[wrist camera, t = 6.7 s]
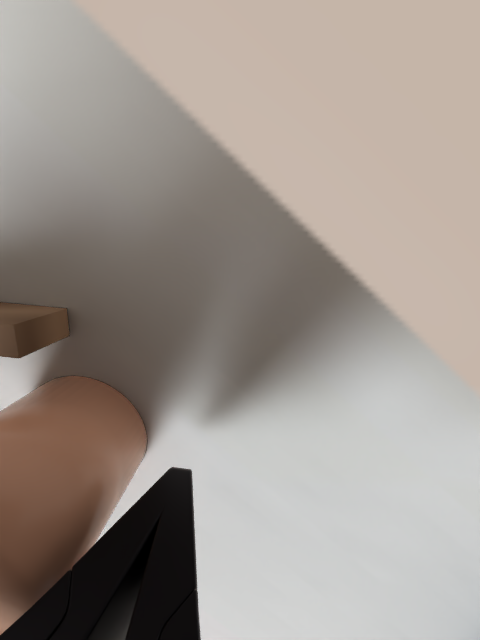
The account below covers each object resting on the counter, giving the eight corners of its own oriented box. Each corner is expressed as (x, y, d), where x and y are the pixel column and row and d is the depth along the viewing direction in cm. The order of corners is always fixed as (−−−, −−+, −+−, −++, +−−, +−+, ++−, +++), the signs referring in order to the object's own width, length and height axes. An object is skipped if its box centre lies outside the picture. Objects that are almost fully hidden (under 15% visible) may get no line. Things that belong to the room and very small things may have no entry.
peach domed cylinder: (149, 388, 9) (33, 531, 5) (144, 491, 11) (50, 684, 6) (21, 366, 10) (-218, 481, 5) (32, 470, 11) (-145, 641, 6)
